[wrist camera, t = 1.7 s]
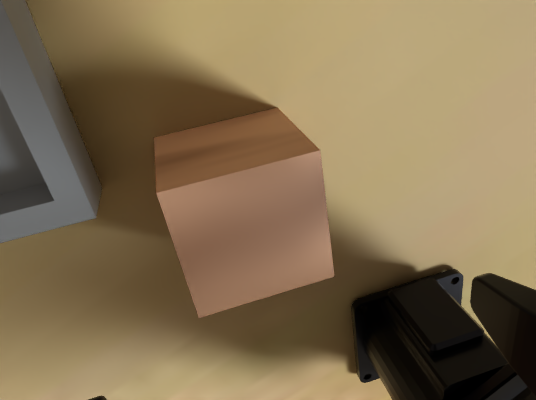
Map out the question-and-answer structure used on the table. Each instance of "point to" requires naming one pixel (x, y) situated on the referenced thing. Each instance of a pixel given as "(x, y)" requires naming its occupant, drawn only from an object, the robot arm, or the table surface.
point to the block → (244, 209)
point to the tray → (37, 138)
